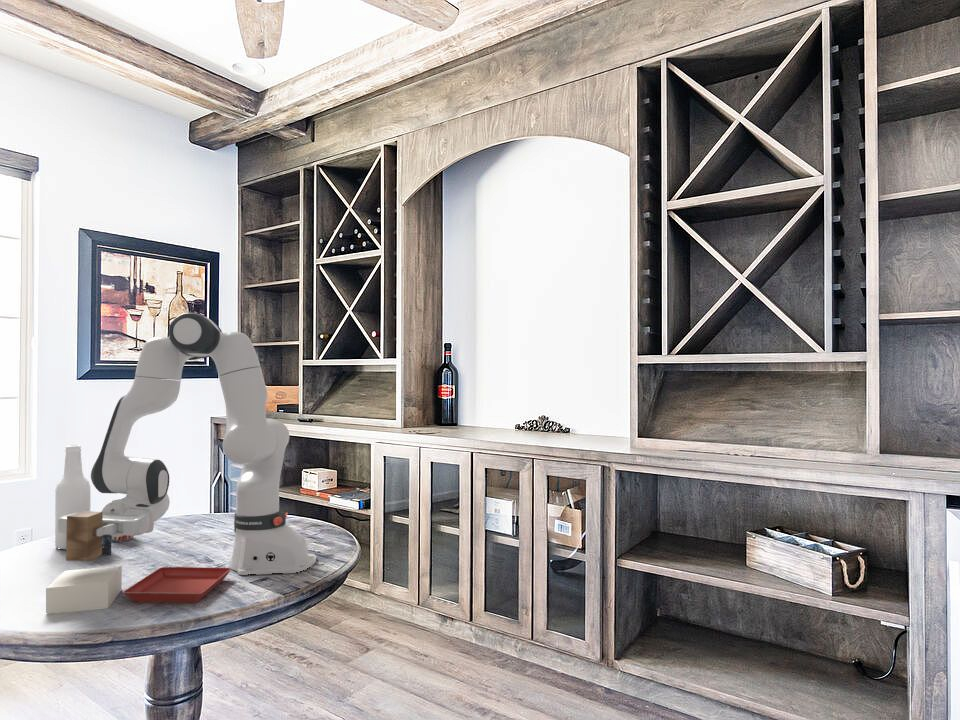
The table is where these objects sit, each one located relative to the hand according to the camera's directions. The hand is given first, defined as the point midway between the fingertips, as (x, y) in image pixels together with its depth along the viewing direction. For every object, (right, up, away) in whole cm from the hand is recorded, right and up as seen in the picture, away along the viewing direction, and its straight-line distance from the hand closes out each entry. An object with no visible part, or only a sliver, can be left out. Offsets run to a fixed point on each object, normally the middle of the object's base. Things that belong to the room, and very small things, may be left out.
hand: (82, 532), depth 145 cm
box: (-19, -16, +36) cm, 44 cm away
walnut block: (0, -6, +1) cm, 6 cm away
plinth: (0, -16, +1) cm, 16 cm away
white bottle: (-31, -16, +44) cm, 56 cm away
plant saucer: (+19, -17, +7) cm, 26 cm away
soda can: (-20, -16, +51) cm, 58 cm away
